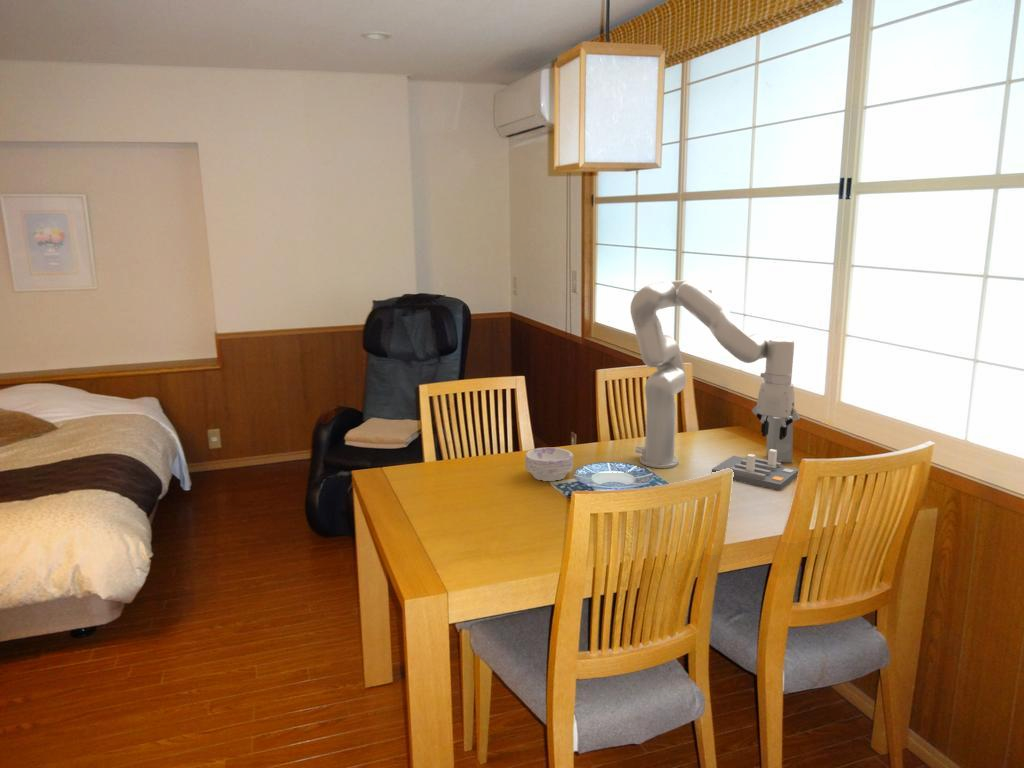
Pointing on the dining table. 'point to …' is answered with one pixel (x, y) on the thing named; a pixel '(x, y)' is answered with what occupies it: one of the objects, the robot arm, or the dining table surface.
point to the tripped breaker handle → (750, 462)
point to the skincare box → (782, 446)
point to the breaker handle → (772, 457)
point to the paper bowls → (549, 463)
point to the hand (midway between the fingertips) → (773, 436)
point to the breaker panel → (759, 472)
